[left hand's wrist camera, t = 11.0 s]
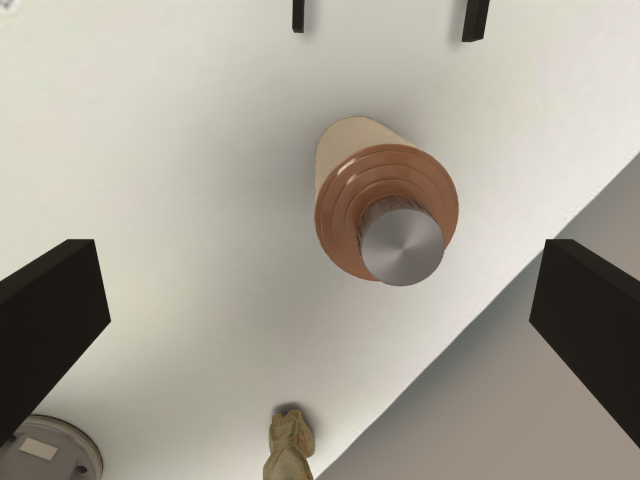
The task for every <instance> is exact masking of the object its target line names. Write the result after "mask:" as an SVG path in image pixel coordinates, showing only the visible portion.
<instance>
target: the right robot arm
mask: <svg viewBox="0 0 640 480" xmlns="http://www.w3.org/2000/svg"><path fill="white" fill-rule="evenodd" d="M489 1H490V0H468V2H467V9H466V16H465V22H464V29H463V35H462V42H473V41H477V40H481V39H483V36H484V31H485V25H486V19H487V13H488V7H489ZM292 29H293V31H294V33H303V32H304V0H293V19H292Z"/></svg>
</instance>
